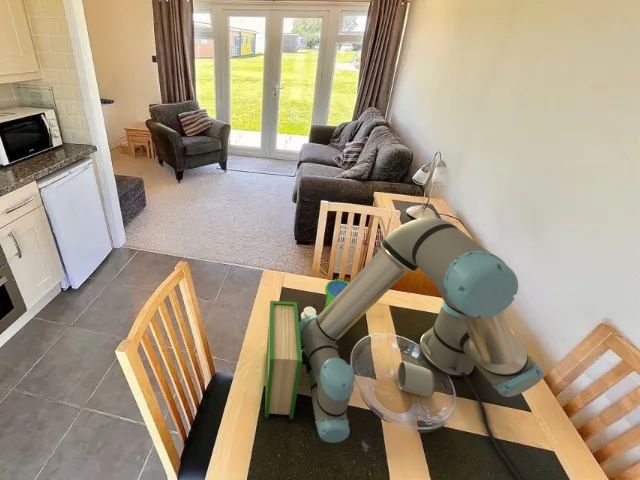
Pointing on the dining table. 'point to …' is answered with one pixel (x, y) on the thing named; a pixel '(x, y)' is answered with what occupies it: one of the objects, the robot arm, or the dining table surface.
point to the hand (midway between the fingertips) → (305, 307)
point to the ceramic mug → (415, 379)
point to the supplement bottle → (308, 312)
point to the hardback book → (282, 359)
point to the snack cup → (334, 290)
